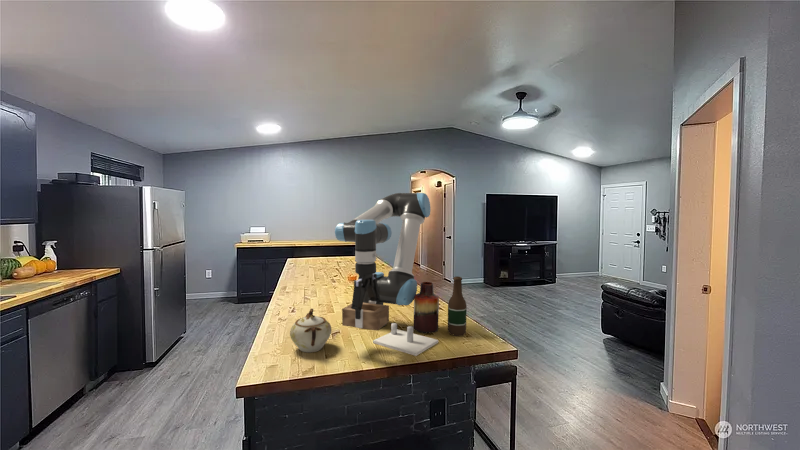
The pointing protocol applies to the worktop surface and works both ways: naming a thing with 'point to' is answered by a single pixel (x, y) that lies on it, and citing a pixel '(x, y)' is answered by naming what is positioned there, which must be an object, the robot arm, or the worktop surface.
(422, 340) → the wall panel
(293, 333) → the sugar bowl
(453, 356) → the worktop surface
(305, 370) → the worktop surface
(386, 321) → the frame
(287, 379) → the worktop surface
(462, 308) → the beer bottle
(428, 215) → the robot arm
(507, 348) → the worktop surface
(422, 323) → the vase
